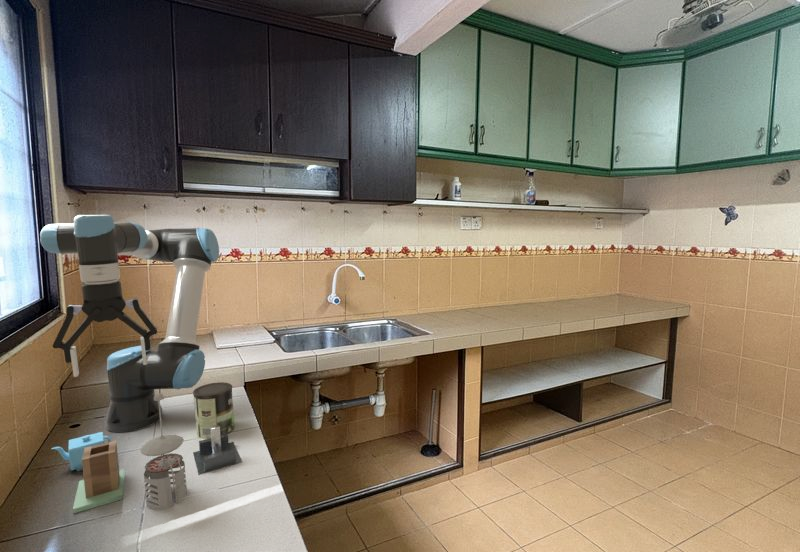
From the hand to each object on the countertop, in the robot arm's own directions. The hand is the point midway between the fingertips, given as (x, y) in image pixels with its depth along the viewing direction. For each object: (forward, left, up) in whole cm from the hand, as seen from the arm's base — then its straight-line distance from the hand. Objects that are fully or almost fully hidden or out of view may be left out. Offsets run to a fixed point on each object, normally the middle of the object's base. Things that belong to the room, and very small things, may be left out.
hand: (111, 369), depth 100 cm
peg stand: (+9, +21, -27) cm, 35 cm away
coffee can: (-7, +23, -27) cm, 36 cm away
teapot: (-9, -8, -27) cm, 30 cm away
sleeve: (+7, -3, -26) cm, 27 cm away
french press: (+21, +9, -27) cm, 35 cm away
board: (+7, -3, -27) cm, 27 cm away
